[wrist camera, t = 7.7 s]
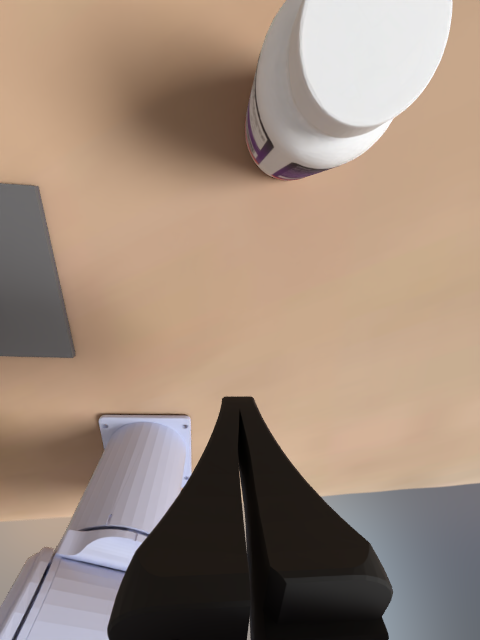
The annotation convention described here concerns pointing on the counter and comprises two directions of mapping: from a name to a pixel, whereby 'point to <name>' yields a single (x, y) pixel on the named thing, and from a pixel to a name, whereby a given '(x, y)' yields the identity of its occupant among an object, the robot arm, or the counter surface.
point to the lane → (29, 280)
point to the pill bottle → (338, 79)
